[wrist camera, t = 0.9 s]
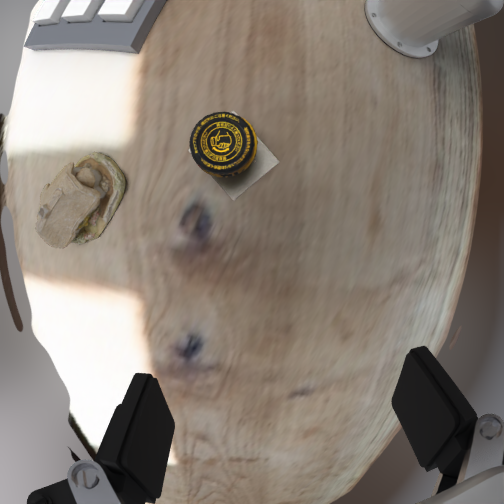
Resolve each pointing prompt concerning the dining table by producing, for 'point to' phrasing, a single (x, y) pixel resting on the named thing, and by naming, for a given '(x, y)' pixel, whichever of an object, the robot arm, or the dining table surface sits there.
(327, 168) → the dining table surface
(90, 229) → the ceramic model
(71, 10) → the key
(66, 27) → the keypad
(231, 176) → the condiment
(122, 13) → the key
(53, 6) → the key
